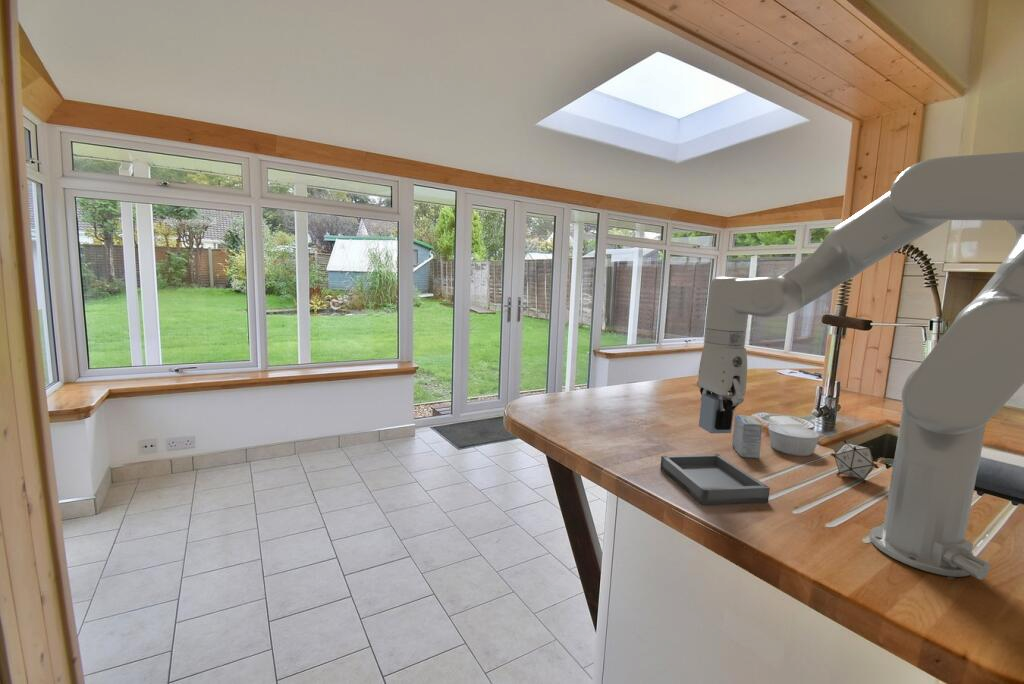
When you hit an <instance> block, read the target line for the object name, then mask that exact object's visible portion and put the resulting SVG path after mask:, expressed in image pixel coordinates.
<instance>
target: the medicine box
mask: <svg viewBox="0 0 1024 684" xmlns="http://www.w3.org/2000/svg"><path fill="white" fill-rule="evenodd" d="M733 421H734V423H733V433H732V434H733V435H732V441H731V442H732V445H731V446H732V448H733V449H735V451H736V452H737V454H739V456H740V457H742V458H748V459H751V458H752V459H760V456H761V455H760V453H761V445H762V443H761V442H762V436H763V435H762V434H763V424H762V423H760V421H759V420H758V419H756V418H755V417H754V416H752V415H742V414H737V415H735V416H734V420H733Z"/></svg>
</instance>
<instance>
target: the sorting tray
mask: <svg viewBox="0 0 1024 684" xmlns="http://www.w3.org/2000/svg"><path fill="white" fill-rule="evenodd" d="M660 470H661V471H663V472H664V474H666V475H667V476H668V477H670V478H671V479H672V480H673V481H674V482H675V483H677V484H678V486H680V487H681V488H682V489H683V490H685V491H686V493H688V494H689V495H690V496H691V497H692V498H694V499H695V500H696V501H697V502H698V503H699V504H700V505H701V506H713V505H735V504H752V503H753V504H757V503H768V502H769V500H770V499H769V497H770V486H768V485H766V484H765V483H763V482H762V481H760V480H758V478H755V477H754V476H753V475H752V474H750V473H748V472H746V471H745V470H743V469H742V468H740V467H738V466H737V465H735V464H734V463H733V462H731V461H730V460H727V459H726V458H724V457H723V456H721V455H720V454H718V453H717V454H716V453H715V454H684V455H683V454H681V455H679V454H678V455H677V454H675V455H661V459H660Z"/></svg>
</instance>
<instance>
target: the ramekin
mask: <svg viewBox="0 0 1024 684" xmlns="http://www.w3.org/2000/svg"><path fill="white" fill-rule="evenodd" d="M767 428H768V429H767V430H768V433H769V443H770V446H771V448H773V449H774V451H775V450H776V451H778V452H781V453H783V454H786V455H791V456H799V457H808V456H811V455H812V454H814V453H815V450H816V446H817V444H818V441H819V440H820V437H821V436H820V434H819V433H818V432H816V431H814V430H812V429H811V428H810V429H809V428H807V427H802V426H799V425H792V424H783V423H782V424H781V423H780V424H779V423H777V424H772V425H769V426H768V427H767Z"/></svg>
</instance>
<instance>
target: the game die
mask: <svg viewBox="0 0 1024 684" xmlns="http://www.w3.org/2000/svg"><path fill="white" fill-rule="evenodd" d="M842 442H843V443H844V444H842V446H840V448H839V449H838V450H837V451H836V452H835V453H833V452H832V453H830V455H831V457H833V458H834V460H835V464H836V468H837V470H838V472H837V473H836V477H838V476H840V475H845V476H848V477H852V478H855V479H856V478H857V479H860V480H862V482H863V483H864V482H865V483H866V484H867V480H866V478H867V477H868V476H869V474H870V473H871V472H872V471H873V470H874V469H875V468H876V469H880V467H879V466H878V464H877V463H875V461H874V457H873V455H872V451H871V449H873V448H874V447H873V445H869V446H868V447H866V446H862V445H857V444H854V443H849V442H847V440H846V439H842ZM865 483H864V484H865Z"/></svg>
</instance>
